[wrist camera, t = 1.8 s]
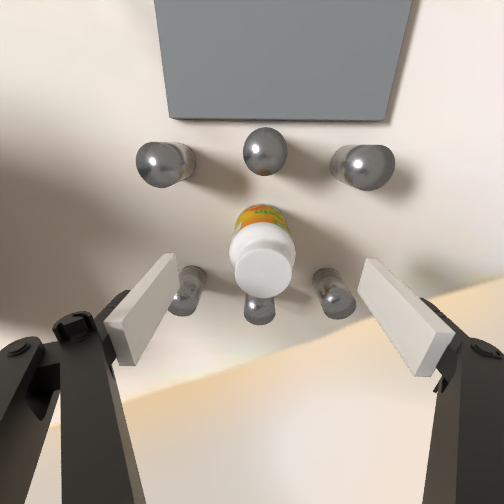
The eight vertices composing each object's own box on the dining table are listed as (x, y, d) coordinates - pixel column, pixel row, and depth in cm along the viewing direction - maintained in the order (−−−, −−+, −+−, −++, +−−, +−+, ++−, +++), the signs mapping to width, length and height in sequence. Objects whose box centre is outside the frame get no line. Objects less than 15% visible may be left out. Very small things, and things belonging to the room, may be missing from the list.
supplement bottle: (294, 214, 23) (318, 256, 14) (272, 256, 25) (282, 315, 17) (246, 194, 22) (241, 226, 13) (228, 239, 24) (213, 292, 16)
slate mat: (173, 118, 19) (169, 117, 18) (146, -99, 14) (138, -115, 13) (378, 121, 19) (383, 120, 18) (427, -98, 14) (439, -114, 13)
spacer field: (182, 294, 28) (168, 323, 23) (157, 130, 20) (128, 125, 15) (335, 297, 28) (350, 327, 23) (371, 132, 20) (405, 129, 15)
